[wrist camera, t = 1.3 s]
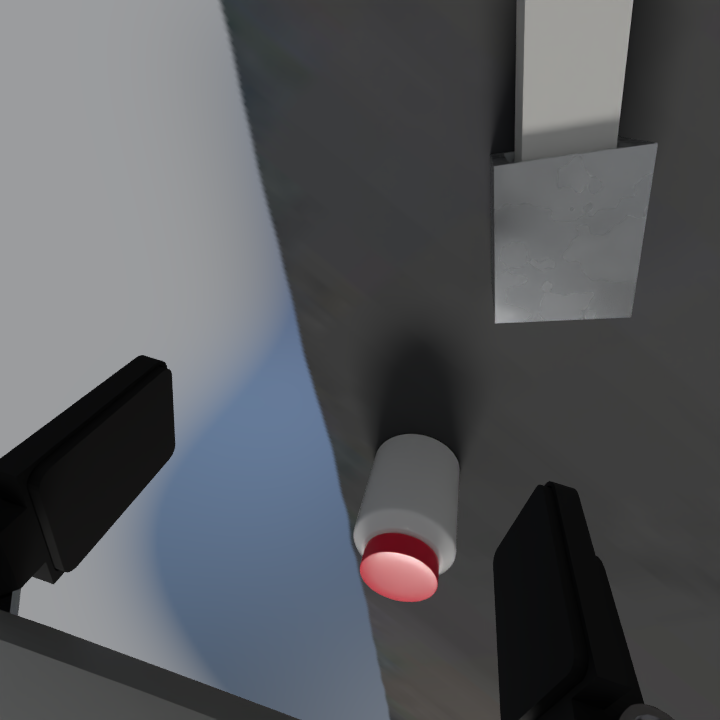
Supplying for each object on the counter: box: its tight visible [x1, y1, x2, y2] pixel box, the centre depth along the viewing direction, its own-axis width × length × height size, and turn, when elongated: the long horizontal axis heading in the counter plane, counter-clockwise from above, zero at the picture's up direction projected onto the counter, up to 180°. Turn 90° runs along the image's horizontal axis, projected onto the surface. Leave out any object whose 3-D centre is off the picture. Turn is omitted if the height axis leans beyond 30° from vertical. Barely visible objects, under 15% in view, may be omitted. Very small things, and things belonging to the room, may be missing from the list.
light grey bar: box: [514, 0, 633, 162], centre depth 20 cm, size 4×22×5 cm, turn 9°
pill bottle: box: [354, 434, 460, 602], centre depth 34 cm, size 8×8×11 cm
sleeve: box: [490, 136, 658, 323], centre depth 23 cm, size 7×8×6 cm
